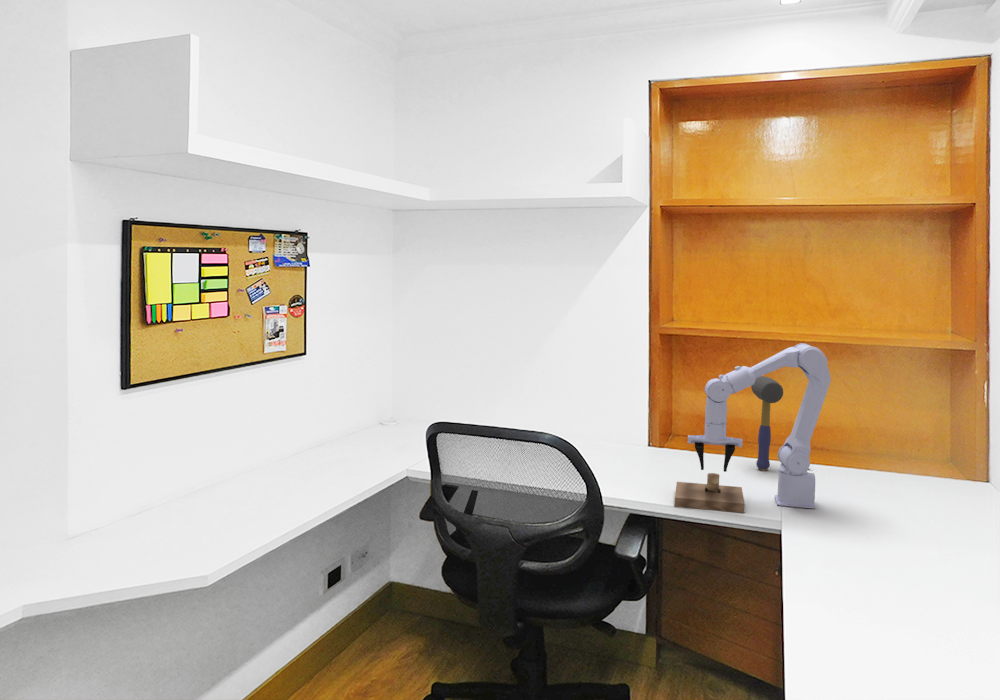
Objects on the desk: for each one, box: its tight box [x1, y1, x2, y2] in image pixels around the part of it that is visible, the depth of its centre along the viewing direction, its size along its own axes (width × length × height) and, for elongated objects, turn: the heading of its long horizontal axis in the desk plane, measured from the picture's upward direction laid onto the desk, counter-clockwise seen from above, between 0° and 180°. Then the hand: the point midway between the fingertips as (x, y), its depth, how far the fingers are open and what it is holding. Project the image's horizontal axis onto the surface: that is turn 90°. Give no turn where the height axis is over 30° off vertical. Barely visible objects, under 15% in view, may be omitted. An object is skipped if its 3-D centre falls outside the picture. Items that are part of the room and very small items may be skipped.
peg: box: [706, 472, 720, 493], centre depth 202 cm, size 3×3×7 cm
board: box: [674, 481, 745, 514], centre depth 200 cm, size 18×15×2 cm
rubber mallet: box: [750, 375, 784, 471], centre depth 230 cm, size 12×8×30 cm, turn 176°
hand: (713, 469), depth 201 cm, fingers open, 5 cm apart
